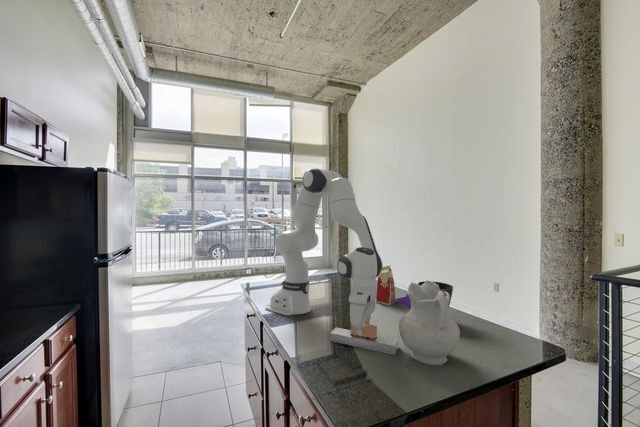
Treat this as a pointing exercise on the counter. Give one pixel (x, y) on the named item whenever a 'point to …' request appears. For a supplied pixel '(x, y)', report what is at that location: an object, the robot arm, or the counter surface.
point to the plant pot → (442, 288)
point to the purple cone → (404, 301)
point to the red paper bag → (385, 287)
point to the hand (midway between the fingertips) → (363, 330)
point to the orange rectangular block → (366, 331)
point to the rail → (365, 341)
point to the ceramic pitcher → (429, 325)
